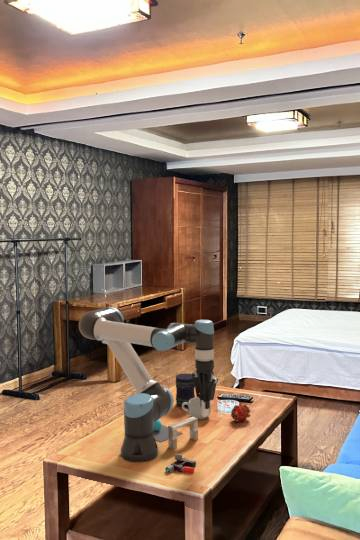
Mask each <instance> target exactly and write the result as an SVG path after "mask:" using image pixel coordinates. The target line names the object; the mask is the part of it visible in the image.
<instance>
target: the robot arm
mask: <svg viewBox="0 0 360 540" xmlns="http://www.w3.org/2000/svg"><path fill="white" fill-rule="evenodd" d="M124 321H125V320H124V315H123V314H122V313H121V311H120V310H119V309H118V308H115V307H112V306H107V307H106V306H105V307H101V308H98V309H95V310H91V311H87V312H86V313H84V314H82V315H81V317H80V319H79V321H78V329H79V332H80V334H81V335H82V336H83V337H84V338H86V339H89V340H93V341H94V340H95V341H100V342H101V343H102V344H105V345H107V346H108V348H109V349H110V351H111V353H112V354H113V355H114V358H115V359H116V360H117V362H118V364H119V365H120V367H121V369H122V370H123V372H124V373H125V375H126V377H127V378H128V379H129V382H130V384H131V385H132V387H133V388H134V390H135V394H132V395H129V396H128V397H127V398H125V400H124V403H123V421H124V422H123V423H124V425H123V426H124V437H123V441H122V445H121V448H120V456H121V458H122V459H124V460H125V461H127V462H131V463H132V462H136V463H140V462H141V463H142V462H143V463H144V462H147V461H151V460H154V459H155V458H156V457H157V456H158V455H159V447H158V446H159V445H158V444H157V441H156V440H155V438H154V435H153V423H154V422H155V421H157V420H158V419H159V420H160V419H162V418H163V417H165V416H167V415H168V414H169V412H171V411H172V409H173V407H174V396H173V393H172V391H171V390H170V389H169V388H168V387H165V386H162V385H161V384H160V382H159V381H158V380H154V379H153V377H152V376H151V374H150V373H149V371H148V369H147V368H146V366H145V365H144V363H143V361H142V360H141V359H140V357H139V355H138V353H137V352H136V351H135V349H134V347H133V345H132V344H134V345H140V346H146V347H152V348H154V349H156V350H157V351H159V352H164V351H168V350H170V349H173V348H174V347H177V346H179V345H181V344H183V343H187V344H194V348H195V349H194V350H195V351H194V352H195V354H194V358H195V361H194V363H195V364H194V365H195V369H196V370H195V372H193V373H191V374H192V377H193V379H194V385H195V387H194V392H195V397H196V398H197V397H199V398H200V403H201V411H202V417H206V416H208V417H209V416H210V415H209V408H210V401H211V402H212V401H213V400H214V399H215V395H216V394H215V393H216V389H217V383H218V382H219V377H215V375H214V368H215V343H214V341H215V328H214V327H215V326H214V322H213V321H212V320H209V319H197V320H195V321H194V324H193V323H192V324H191V323H190V324H189V323H182V322H181V323H180V322H171V323H170V324H169V325H168V326H167V328H159V327H153V326H146V325H140V324H139V325H138V324H133V323H127V322H126V323H125V322H124ZM206 418H207V417H206Z"/></svg>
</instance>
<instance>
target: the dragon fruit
mask: <svg viewBox="0 0 360 540" xmlns="http://www.w3.org/2000/svg"><path fill="white" fill-rule="evenodd" d="M250 413H251V410H250V407H249V406H248V405H247V404H246V403H244V404H241V403H238V405H237V404H235V405H234V406H233V408H232V409H231V413H230V417H231V418H232V419H233V420H234V423H240V422H241V421H242V422H243V423H244V422H246V421H247V418H250V417H251V414H250Z"/></svg>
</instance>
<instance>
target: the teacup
mask: <svg viewBox="0 0 360 540" xmlns="http://www.w3.org/2000/svg"><path fill="white" fill-rule="evenodd" d="M185 404H187V405H188V407H189V408H188V409H187V408H184V405H185ZM211 407H212V400H211V401H210V408H209V416H210V415H211V409H212V408H211ZM181 409H182V410H183V411H184V412H186V413H187V415H190V416H191V417H195V418H198V420H205V419H207V418H208V417H209V416H206V417H202V411H201V403H200V398H199V397H197V396H196V397H195V398H192V399H190V400H189V403H188V402H184V403H183V404H182V408H181Z"/></svg>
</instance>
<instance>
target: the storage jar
mask: <svg viewBox="0 0 360 540" xmlns="http://www.w3.org/2000/svg"><path fill="white" fill-rule="evenodd" d="M175 389H176V392H175V393H176V394H175V405H176V407H177V408H180V409H182V404H183V403H184V402H188V403H189V400H190V399H192V398H196V393H195V385H194V379H193V377H192V373H179V374H176V375H175ZM184 408H185V409H189V407H188V405H187V404H185V405H184Z"/></svg>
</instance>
